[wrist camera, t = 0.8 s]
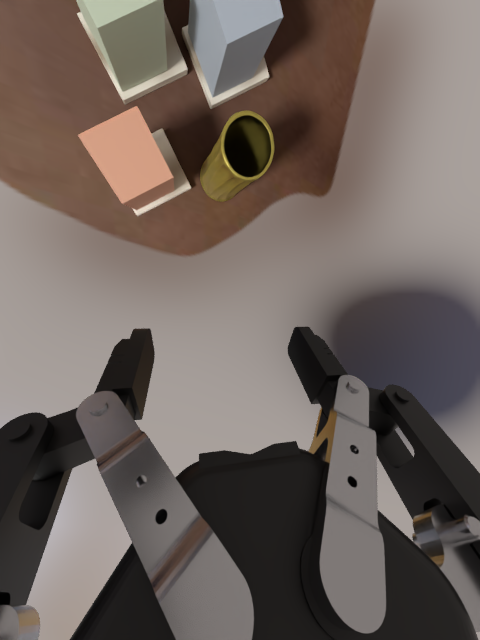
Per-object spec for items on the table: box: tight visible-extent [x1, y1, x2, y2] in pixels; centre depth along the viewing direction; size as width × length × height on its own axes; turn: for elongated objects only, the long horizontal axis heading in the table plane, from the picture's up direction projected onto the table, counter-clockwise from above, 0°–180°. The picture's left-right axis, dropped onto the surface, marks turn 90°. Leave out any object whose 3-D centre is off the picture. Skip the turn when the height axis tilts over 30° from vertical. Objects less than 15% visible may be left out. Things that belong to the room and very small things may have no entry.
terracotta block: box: [78, 106, 174, 210], centre depth 25 cm, size 6×6×9 cm
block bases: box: [77, 11, 269, 216], centre depth 27 cm, size 18×25×1 cm
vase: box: [200, 110, 274, 201], centre depth 26 cm, size 6×6×14 cm
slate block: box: [188, 0, 283, 98], centre depth 22 cm, size 6×6×9 cm
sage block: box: [76, 0, 167, 92], centre depth 20 cm, size 6×6×9 cm
